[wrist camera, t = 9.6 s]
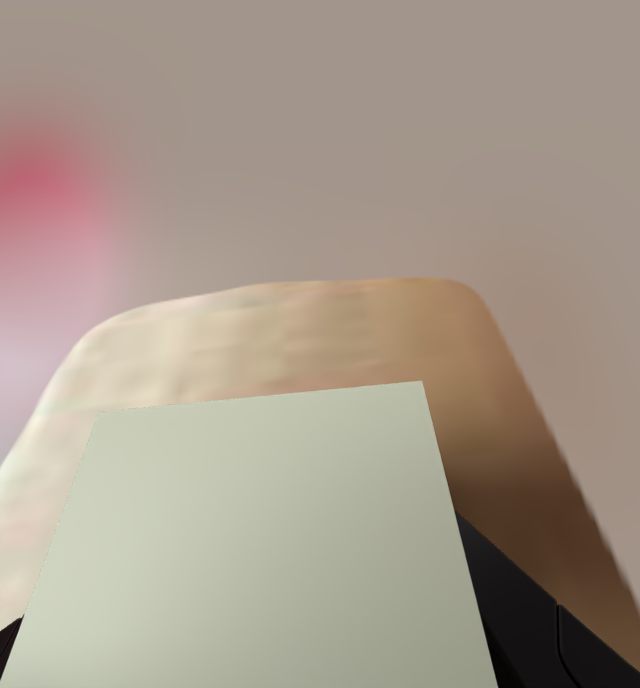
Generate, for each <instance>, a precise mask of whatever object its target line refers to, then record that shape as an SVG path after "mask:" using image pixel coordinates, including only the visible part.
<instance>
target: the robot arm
mask: <svg viewBox="0 0 640 688" xmlns="http://www.w3.org/2000/svg"><path fill="white" fill-rule="evenodd" d="M454 512H455V516H456V520H457V525H458V529H459V533H460V537H461V541H462V545H463V549H464V553H465V557H466V561H467V565H468V569H469V573H470V577H471V581H472V585H473V589H474V593H475V597H476V601H477V605H478V609H479V613H480V617H481V621H482V625H483V629H484V633H485V637H486V641H487V646H488V650H489V654H490V658H491V662H492V666H493V670H494V674H495V678H496V682H497V686H498V688H640V672H639V671H638V670H636V669H635V668H634V667H633V666H631V665H630V664H629V663H628V662H627V661H625V660H624V659H623V658H622V657H621V656H620V655H619V654H617V653H616V652H615V651H614V650H613V649H612V648H610V647H609V646H608V645H607V644H606V643H605V642H603V641H602V640H601V639H600V638H599V637H598V636H596V635H595V634H594V633H593V632H592V631H591V630H589V629H588V628H587V627H586V626H585V625H584V624H583V623H581V622H580V621H579V620H578V619H577V618H576V617H575V616H574V615H573V614H571V613H570V612H569V611H568V610H567V609H566V608H565V607H564V606H562V605H558V606H557V601H556V600H555V599H554V598H553V597H552V596H551V595H550V594H549V593H548V592H546V591H545V590H544V589H543V588H542V587H541V586H540V585H539V584H537V583H536V582H535V581H534V580H533V579H532V578H531V577H530V576H528V575H527V574H526V573H525V572H524V571H523V570H522V569H521V568H520V567H518V566H517V565H516V564H515V563H514V562H513V561H512V560H511V559H509V558H508V557H507V556H506V555H505V554H504V553H503V552H502V551H500V550H499V549H498V548H497V547H496V546H495V545H494V544H493V543H491V542H490V541H489V540H488V539H487V538H486V537H485V536H484V535H482V534H481V533H480V532H479V531H478V530H477V529H476V528H475V527H474V526H472V525H471V524H470V523H469V522H468V521H467V520H466V519H465V518H463V517H462V516H461V515H460V514H459V513H458V512H457V511H456V510H454ZM24 615H25V614H24ZM24 615H23V617H22V618H18V619H16V620H15V621H14V622H12V623H11V624H10V625H8V626H7V627H5V628H4V629H3V630H1V631H0V680H1V678H2V675H3V672H4V670H5V667H6V664H7V661H8V659H9V656H10V653H11V650H12V648H13V645H14V642H15V640H16V637H17V634H18V631H19V629H20V626H21V623H22V620H23V618H24Z"/></svg>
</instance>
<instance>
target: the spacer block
mask: <svg viewBox="0 0 640 688" xmlns="http://www.w3.org/2000/svg"><path fill="white" fill-rule="evenodd" d="M0 688H498V686H497V682H496V678H495V674H494V670H493V666H492V662H491V658H490V654H489V650H488V646H487V641H486V637H485V633H484V629H483V625H482V621H481V617H480V613H479V609H478V605H477V601H476V597H475V593H474V589H473V585H472V581H471V577H470V573H469V569H468V565H467V561H466V557H465V553H464V549H463V545H462V541H461V537H460V533H459V529H458V525H457V520H456V516H455V512H454V508H453V504H452V500H451V496H450V492H449V488H448V484H447V480H446V476H445V472H444V468H443V464H442V460H441V456H440V452H439V448H438V444H437V440H436V436H435V432H434V428H433V424H432V420H431V416H430V412H429V408H428V404H427V399H426V395H425V391H424V387H423V383H422V381H416V382H405V383H395V384H384V385H374V386H363V387H353V388H342V389H332V390H321V391H311V392H300V393H290V394H279V395H269V396H258V397H248V398H237V399H227V400H216V401H206V402H195V403H185V404H174V405H164V406H153V407H143V408H132V409H122V410H111V411H101V412H99V413H98V416H97V419H96V421H95V424H94V427H93V429H92V432H91V435H90V438H89V440H88V443H87V446H86V449H85V451H84V454H83V457H82V460H81V462H80V465H79V468H78V470H77V473H76V476H75V479H74V481H73V484H72V487H71V490H70V492H69V495H68V498H67V500H66V503H65V506H64V509H63V511H62V514H61V517H60V520H59V522H58V525H57V528H56V530H55V533H54V536H53V539H52V541H51V544H50V547H49V550H48V552H47V555H46V558H45V560H44V563H43V566H42V569H41V571H40V574H39V577H38V580H37V582H36V585H35V588H34V590H33V593H32V596H31V599H30V601H29V604H28V607H27V610H26V612H25V615H24V618H23V620H22V623H21V626H20V629H19V631H18V634H17V637H16V640H15V642H14V645H13V648H12V650H11V653H10V656H9V659H8V661H7V664H6V667H5V670H4V672H3V675H2V678H1V680H0Z"/></svg>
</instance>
